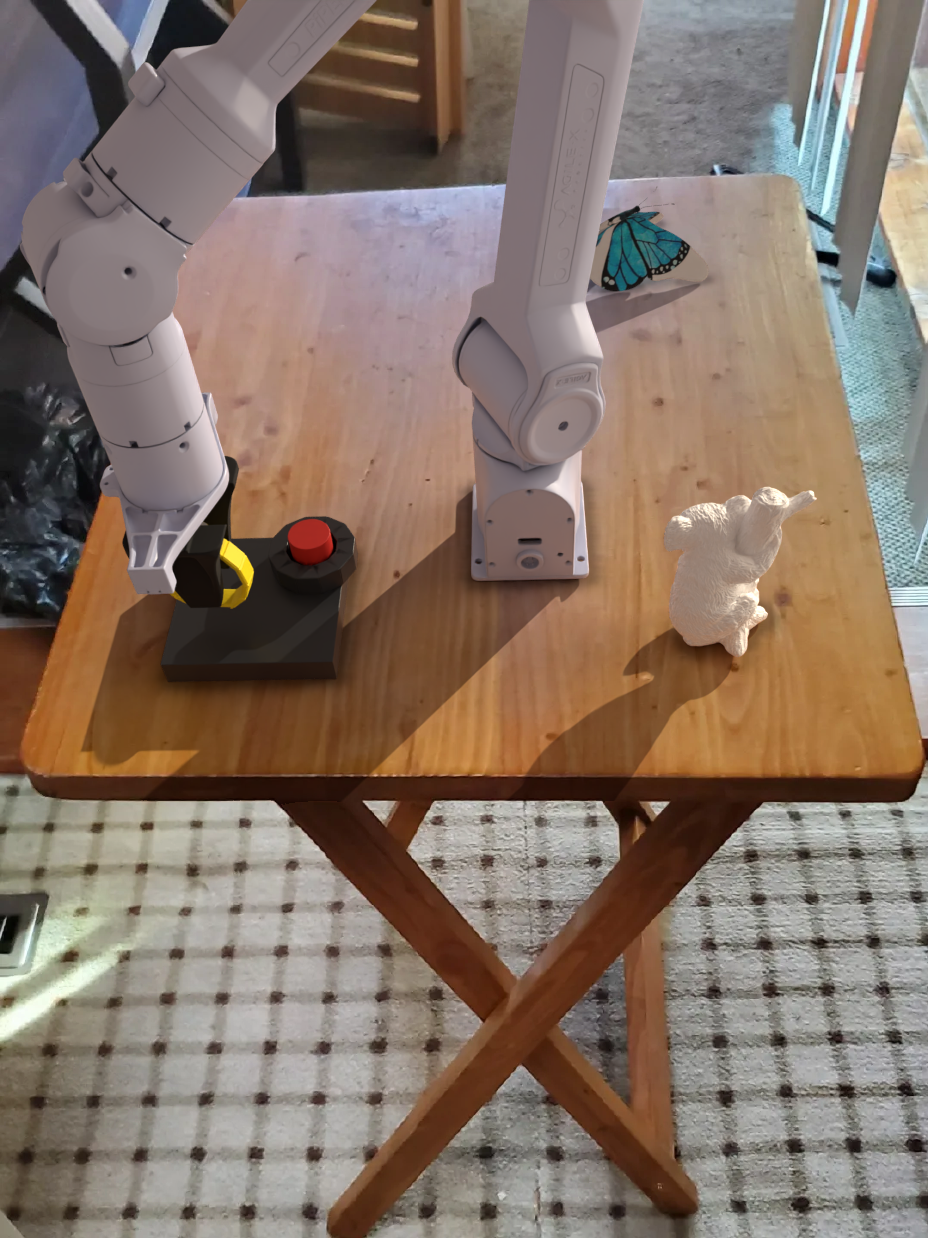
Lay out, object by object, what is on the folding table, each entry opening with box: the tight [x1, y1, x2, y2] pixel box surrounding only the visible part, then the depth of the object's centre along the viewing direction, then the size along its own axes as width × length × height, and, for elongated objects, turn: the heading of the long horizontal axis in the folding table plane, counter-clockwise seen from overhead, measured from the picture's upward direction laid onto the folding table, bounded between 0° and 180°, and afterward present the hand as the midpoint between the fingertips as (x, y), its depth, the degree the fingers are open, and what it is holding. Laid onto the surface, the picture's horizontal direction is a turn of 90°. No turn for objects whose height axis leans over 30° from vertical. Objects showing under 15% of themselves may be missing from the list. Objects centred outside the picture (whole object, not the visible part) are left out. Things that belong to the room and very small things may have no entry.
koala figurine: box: [663, 486, 817, 658], centre depth 65 cm, size 8×7×12 cm
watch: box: [169, 522, 254, 609], centre depth 66 cm, size 6×3×6 cm, turn 81°
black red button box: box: [160, 515, 359, 683], centre depth 71 cm, size 11×12×4 cm
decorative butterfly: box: [589, 186, 710, 292], centre depth 96 cm, size 10×6×10 cm
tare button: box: [288, 519, 333, 565], centre depth 71 cm, size 3×3×2 cm
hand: (210, 583), depth 67 cm, fingers closed on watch, 2 cm apart
